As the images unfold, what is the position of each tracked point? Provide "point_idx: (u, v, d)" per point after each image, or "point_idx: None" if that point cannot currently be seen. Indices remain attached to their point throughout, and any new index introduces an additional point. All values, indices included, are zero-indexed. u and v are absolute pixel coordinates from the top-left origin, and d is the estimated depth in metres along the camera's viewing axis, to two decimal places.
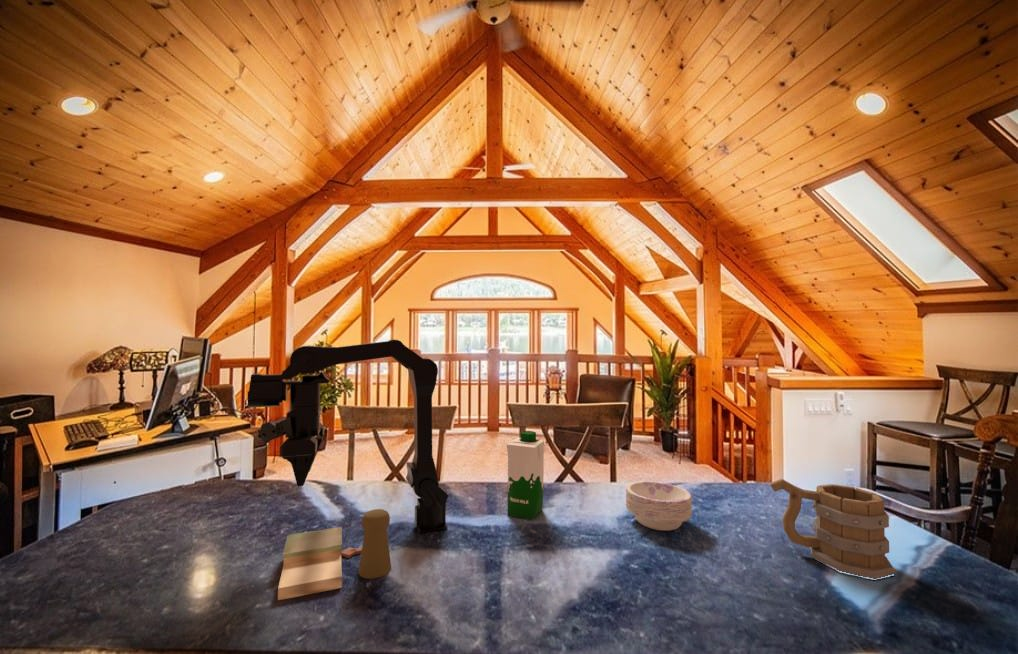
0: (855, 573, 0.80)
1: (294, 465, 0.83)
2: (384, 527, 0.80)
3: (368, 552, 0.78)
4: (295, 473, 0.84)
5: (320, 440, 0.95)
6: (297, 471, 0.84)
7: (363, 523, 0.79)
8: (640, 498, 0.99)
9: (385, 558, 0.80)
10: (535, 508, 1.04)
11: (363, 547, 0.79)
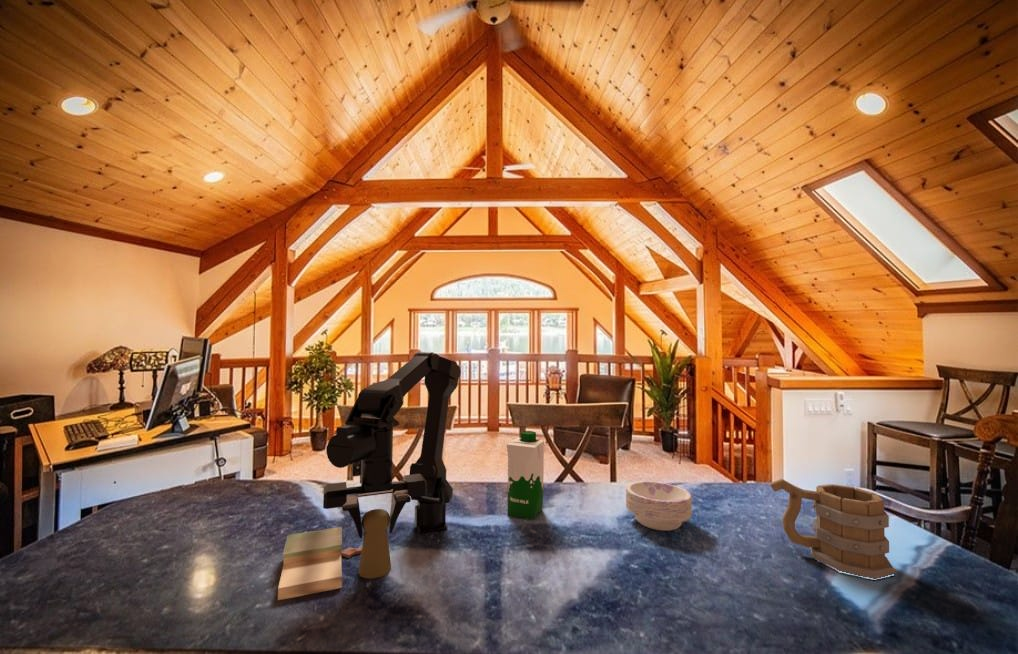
0: (855, 573, 0.80)
1: None
2: (384, 527, 0.80)
3: (368, 552, 0.79)
4: None
5: (395, 502, 0.80)
6: None
7: (363, 523, 0.79)
8: (640, 498, 0.99)
9: (385, 557, 0.80)
10: (535, 508, 1.04)
11: (363, 547, 0.79)
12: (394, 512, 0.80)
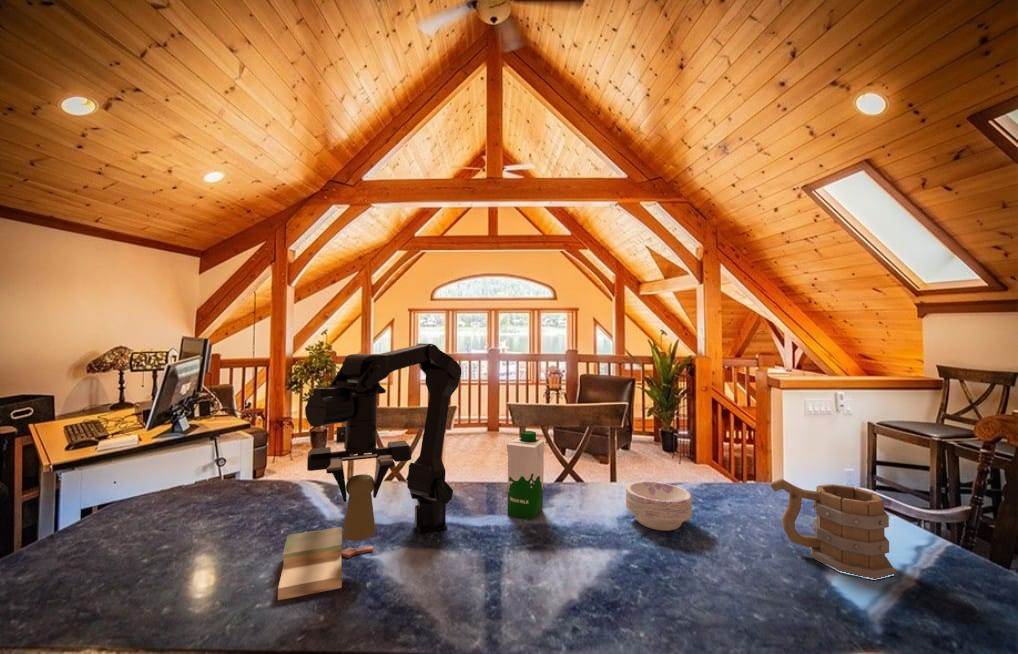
0: (855, 573, 0.80)
1: None
2: (368, 490, 0.81)
3: (353, 515, 0.79)
4: None
5: (379, 466, 0.81)
6: None
7: (347, 487, 0.80)
8: (640, 498, 0.99)
9: (370, 521, 0.81)
10: (535, 508, 1.04)
11: (347, 510, 0.80)
12: (378, 476, 0.81)
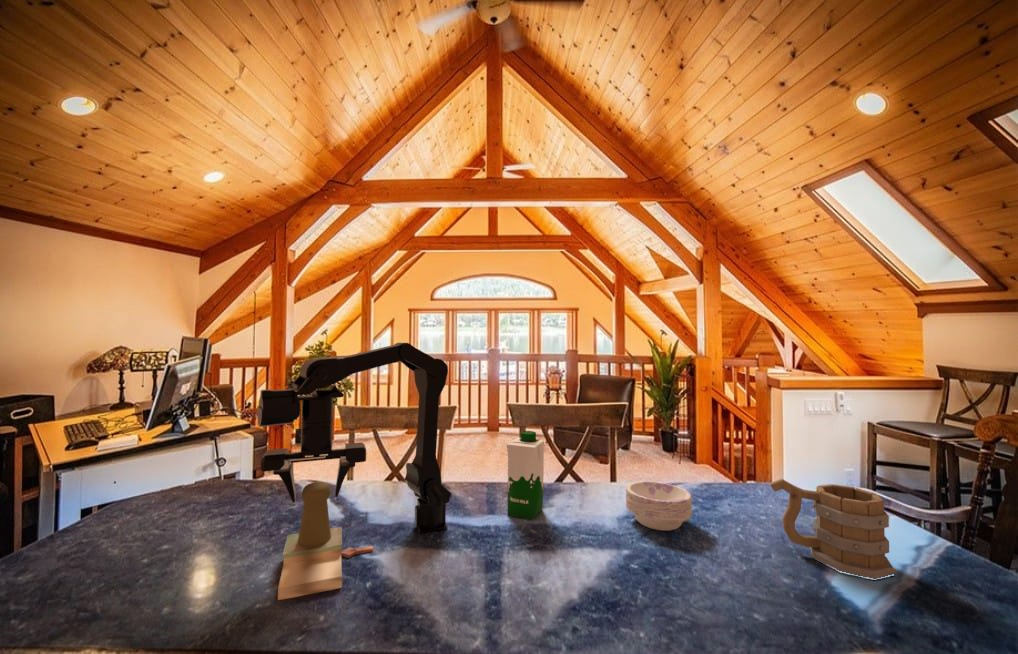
0: (855, 573, 0.80)
1: None
2: (323, 499, 0.82)
3: (307, 522, 0.82)
4: None
5: (339, 466, 0.84)
6: None
7: (302, 495, 0.82)
8: (640, 498, 0.99)
9: (324, 528, 0.83)
10: (535, 508, 1.04)
11: (302, 517, 0.82)
12: (339, 476, 0.84)
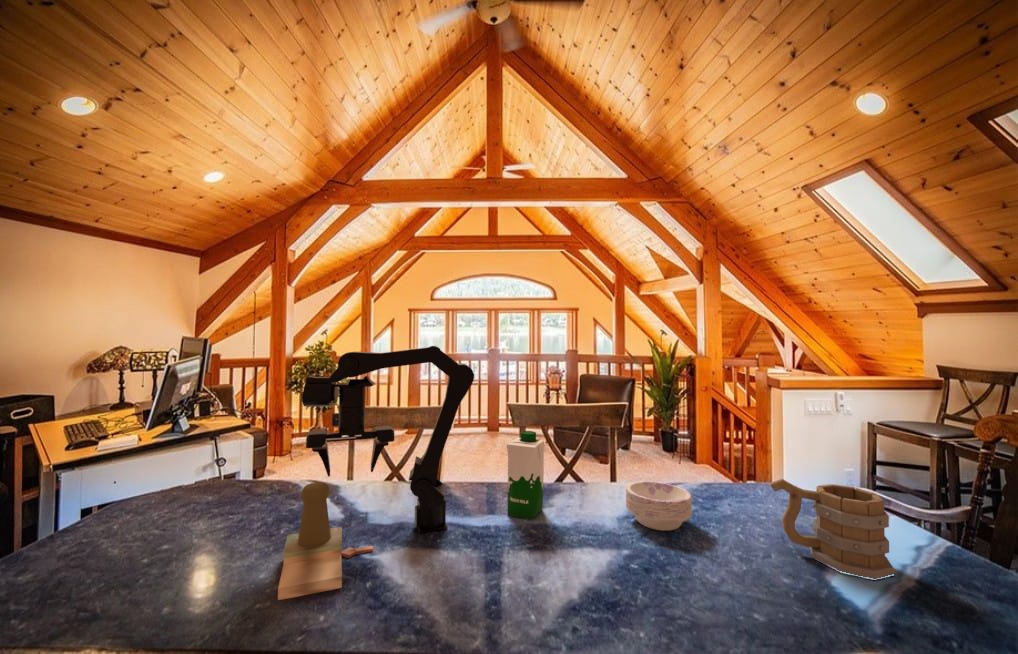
0: (855, 573, 0.80)
1: None
2: (322, 498, 0.83)
3: (307, 522, 0.82)
4: None
5: (375, 445, 0.97)
6: None
7: (302, 494, 0.82)
8: (640, 498, 0.99)
9: (324, 528, 0.83)
10: (535, 508, 1.04)
11: (302, 518, 0.83)
12: (374, 453, 0.97)
